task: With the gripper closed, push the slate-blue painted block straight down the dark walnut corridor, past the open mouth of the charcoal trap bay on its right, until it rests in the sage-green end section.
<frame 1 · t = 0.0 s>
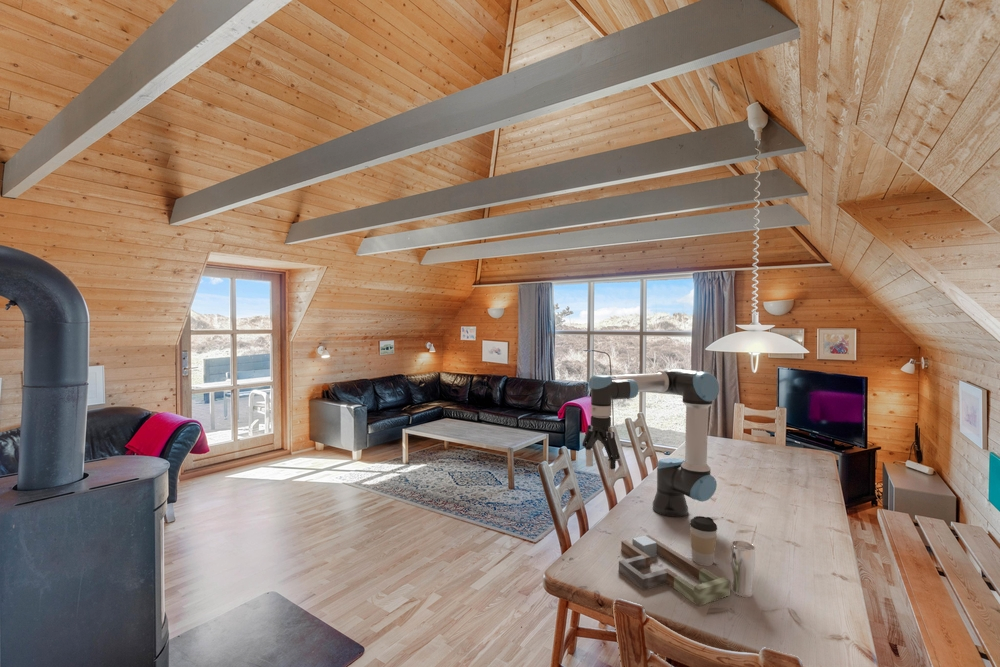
hand: (599, 471, 175), 28 cm above the table, fingers open, 13 cm apart
coffee cup: (702, 560, 165), on the table
corridor: (668, 569, 158), on the table
beer glass: (741, 592, 146), on the table
block: (644, 553, 169), on the table
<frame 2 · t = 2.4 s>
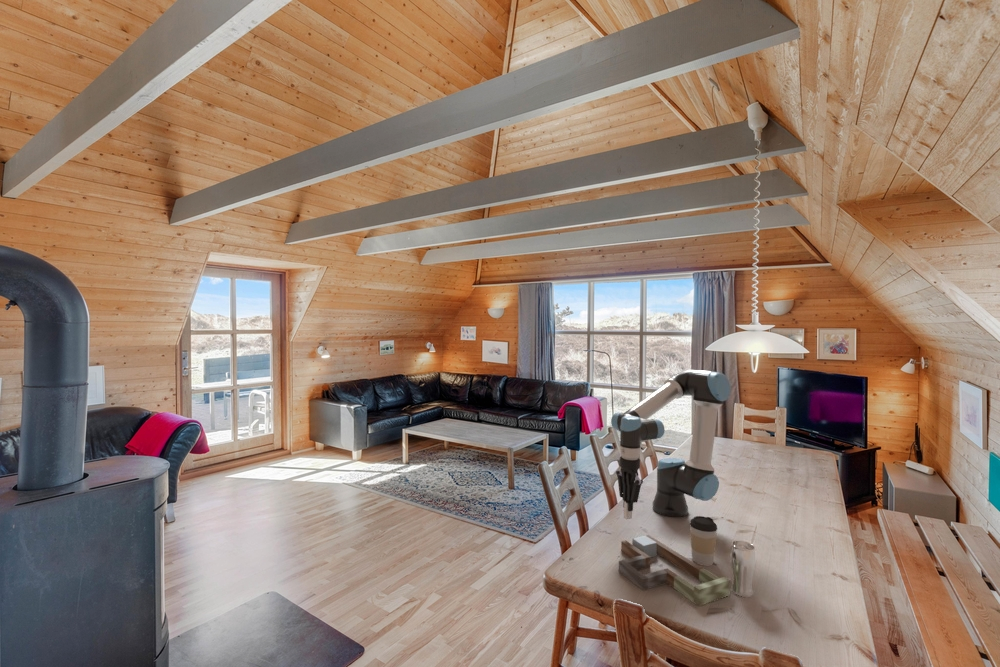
hand: (627, 518, 177), 10 cm above the table, fingers closed
nothing on the table moved.
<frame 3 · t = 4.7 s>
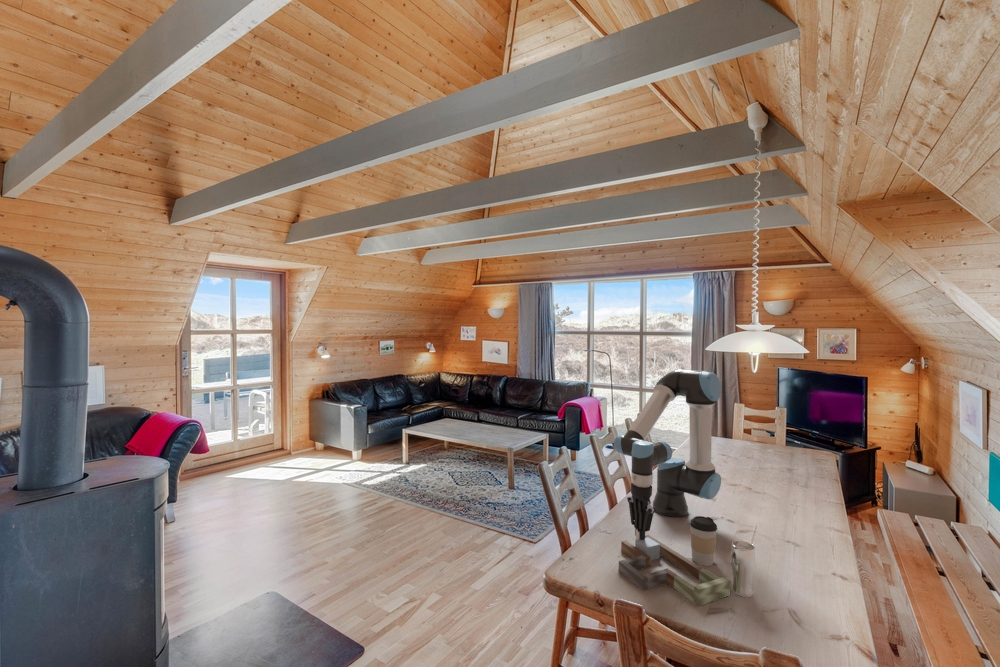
hand: (639, 546, 171), 2 cm above the table, fingers closed
block: (647, 555, 168), on the table, touching gripper
everything else where it was.
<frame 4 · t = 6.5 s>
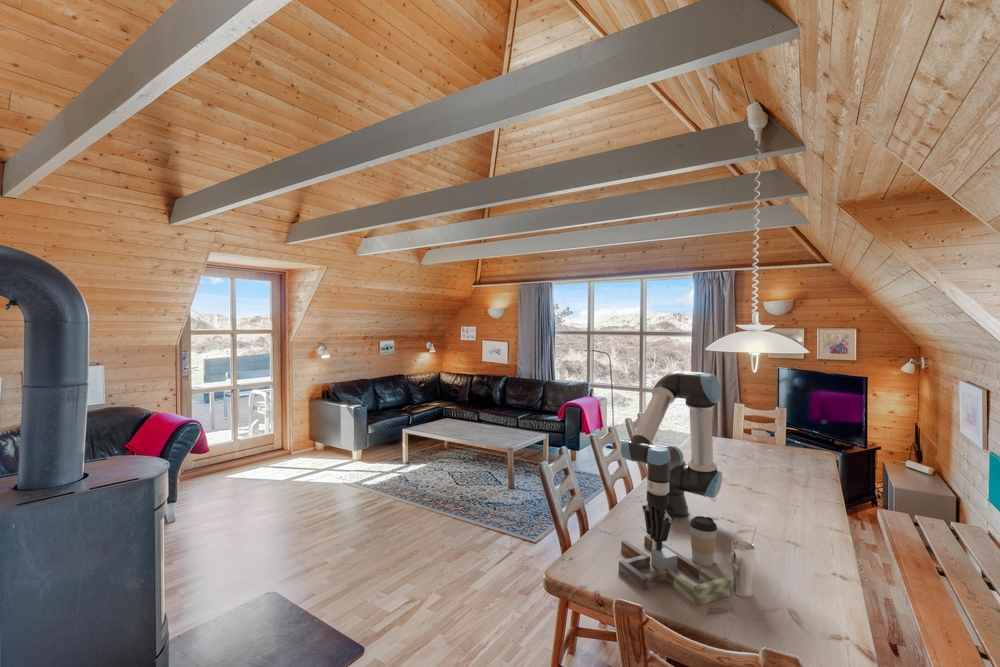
hand: (656, 557, 163), 2 cm above the table, fingers closed
block: (664, 567, 160), on the table, touching gripper
everything else where it was.
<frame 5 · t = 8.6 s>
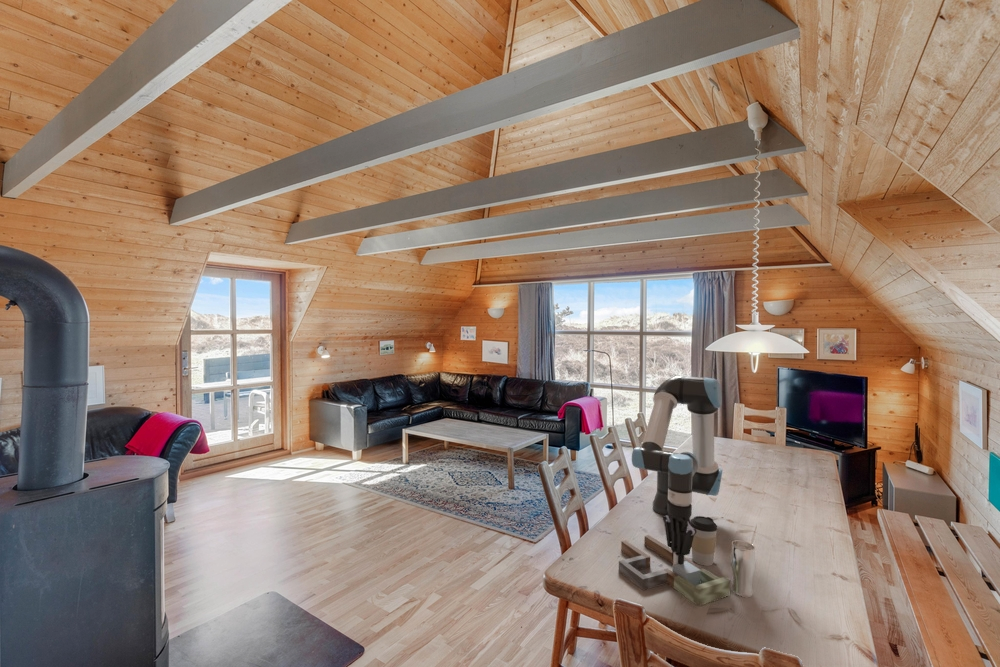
hand: (677, 571, 154), 2 cm above the table, fingers closed
block: (686, 582, 151), on the table, touching gripper
everything else where it was.
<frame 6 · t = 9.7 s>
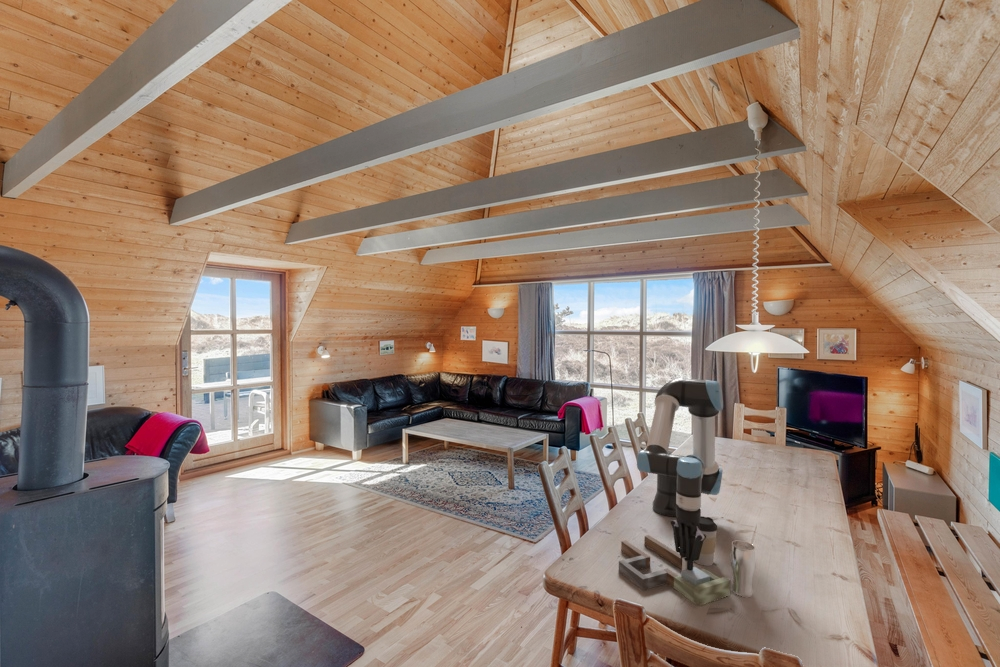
hand: (686, 577, 151), 1 cm above the table, fingers closed
block: (695, 588, 147), on the table, touching gripper
everything else where it was.
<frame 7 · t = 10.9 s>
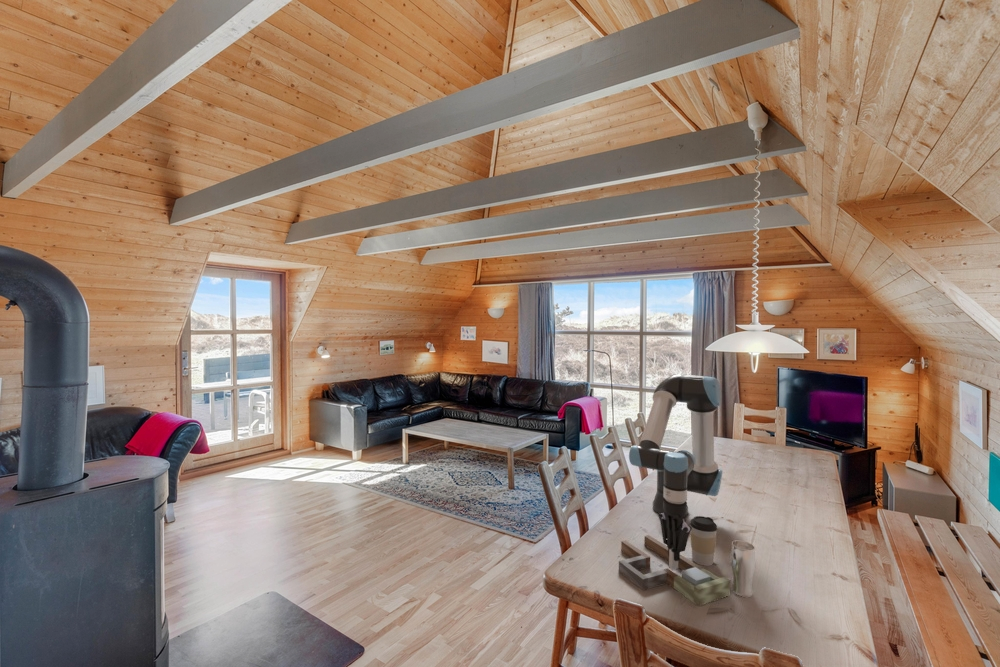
hand: (673, 568, 156), 2 cm above the table, fingers closed
block: (695, 589, 147), on the table
everything else where it was.
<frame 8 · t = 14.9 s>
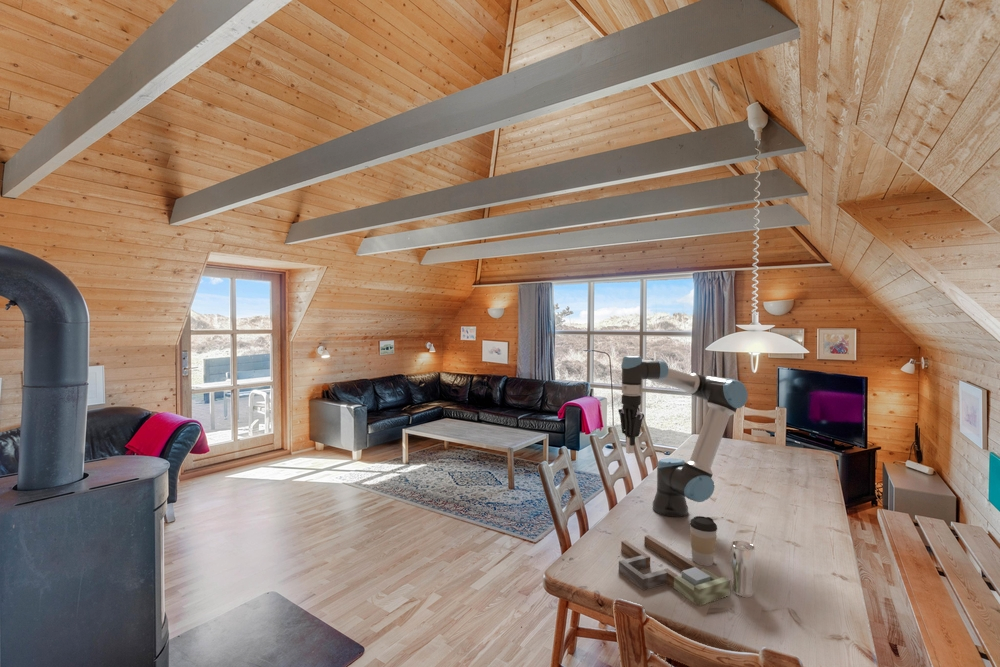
hand: (630, 452, 185), 32 cm above the table, fingers closed
nothing on the table moved.
at the end: block inside the target area (0.9 cm from its centre), on the table; block tilted 0° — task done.
